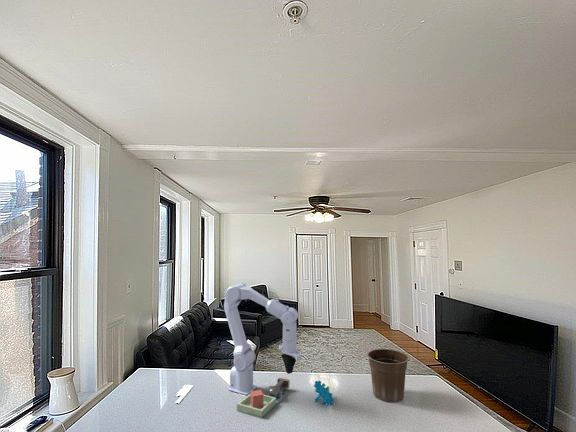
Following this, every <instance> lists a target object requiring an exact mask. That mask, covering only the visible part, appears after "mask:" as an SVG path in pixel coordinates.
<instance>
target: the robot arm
mask: <svg viewBox="0 0 576 432" xmlns="http://www.w3.org/2000/svg"><path fill="white" fill-rule="evenodd" d="M242 300H251V301H253V302H255V303H256V304H258V305H261V306H262V307H264V308H265V310H266V312H267V313H268V314H271V315H272V316H274V317H275V318H277V319H279V320H280V321H281V323H282V344H279V345H278V350H279V351H281V352H282V354H281V355H280V357H281V359H282V361H283V364H284V368H285V372H286V374H289V375H290V374H292V373H293V372H294V368H295V364H296V362H298V361H299V362H300V361H302V355H301V353H300V352H299V351H300V350H299V348H298V347H297V342H298V341H297V337H298V335H297V332H298V331H297V330H298V329H297V320H298V318H299V312H298V310H297V309H296V308H295V307H289V305H285V304H283V303H281V302H280V300H279V299H268V298H267V297H266V296H264V295H263V294H261V293H259V292H258V291H256V290H254V289H253V288H252V287H251V286H250V285H247V284H245V283H243V282H241V283H237V284H235V285H231V286H229V287H227V289H226V291H225V292H224V302H223V308H224V309H223V310H224V313H225V317H226V321H227V322H228V323H227V324H228V327H229V330H230V334H231V338H232V341H233V345H234V350H233V355H232V356H233V366H232V368H230V369H231V370H230V373H229V388H228V391H231V392H235V393H238V394H242V395H244V396H245V395H246V396H248V395H249V394H250V393H251V391H255V390H256V389H257V388H258V386H257V385H254V362H255V361H256V357H257V355H256V352H255V351H254V350H253V348H252V346H251V344H250V343H248V341H247V338H246V333H245V330H244V326H243V323H242V320H241V316H240V313H239V309H238V306H239V305H240V303H241V302H242Z"/></svg>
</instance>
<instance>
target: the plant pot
mask: <svg viewBox="0 0 576 432" xmlns="http://www.w3.org/2000/svg"><path fill="white" fill-rule="evenodd" d="M366 354H367V358H368V362H369V366H370V372H371V384H372V385H371V386H372V393H373V396H374V398H377V399H378V400H380V401H382V402H383V401H386V402H387V403H398V402H401V401H403V399H404V397H405V383H406V370H407V369H408V368H407V367H408V361H409V360H410V359H409V356H408V355H407V354H406V353H405V352H404V353H403V352H401V351H398V350H395V349H390V348H377V349H371V350H370V351H368V352H367V353H366Z"/></svg>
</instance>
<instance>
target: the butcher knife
mask: <svg viewBox="0 0 576 432" xmlns="http://www.w3.org/2000/svg"><path fill="white" fill-rule="evenodd" d="M182 387H183V388H182ZM182 387H181V388H182V389H181V388H180V389H179V391H177V393H178V394H177V393H176V394H177V395H176V394H175V395H176V398H178V399H177V400H176V401H175V402H174V404H175V405H179V404H180V403H181V402H182V401H183V400H184V399H185V397H186V396H187V395H188V394H189V393H190V391H191V390H192V389H193V388H194V385H191V384H184V385H183V386H182ZM178 396H179V397H178ZM182 399H183V400H182ZM176 403H178V404H176Z"/></svg>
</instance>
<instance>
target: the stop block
mask: <svg viewBox="0 0 576 432" xmlns="http://www.w3.org/2000/svg"><path fill="white" fill-rule="evenodd" d="M250 393H251V407H254V408H257V409H261V408H263V395H264V393H263V391H262V389H258V390H256V389H255V390H253V391H251V392H250Z"/></svg>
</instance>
